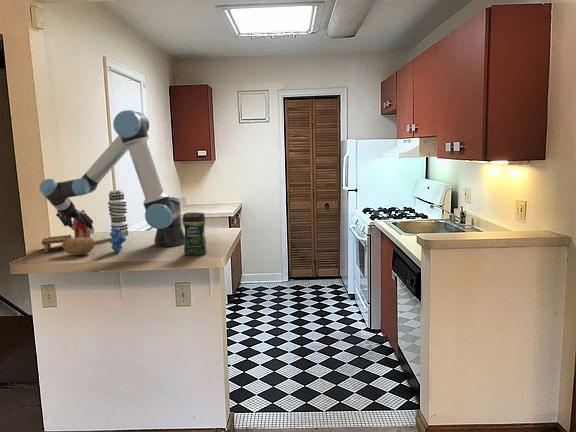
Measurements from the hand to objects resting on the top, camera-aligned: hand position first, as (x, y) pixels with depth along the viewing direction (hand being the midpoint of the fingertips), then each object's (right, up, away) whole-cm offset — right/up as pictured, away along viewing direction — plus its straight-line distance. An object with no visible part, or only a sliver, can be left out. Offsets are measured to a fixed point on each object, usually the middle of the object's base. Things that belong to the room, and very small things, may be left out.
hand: (85, 232), depth 239 cm
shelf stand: (-8, -8, -13) cm, 17 cm away
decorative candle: (+14, -4, +10) cm, 17 cm away
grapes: (+26, -9, -24) cm, 36 cm away
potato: (+9, -10, -27) cm, 30 cm away
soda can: (0, -4, -3) cm, 5 cm away
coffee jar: (+62, -9, -31) cm, 70 cm away
